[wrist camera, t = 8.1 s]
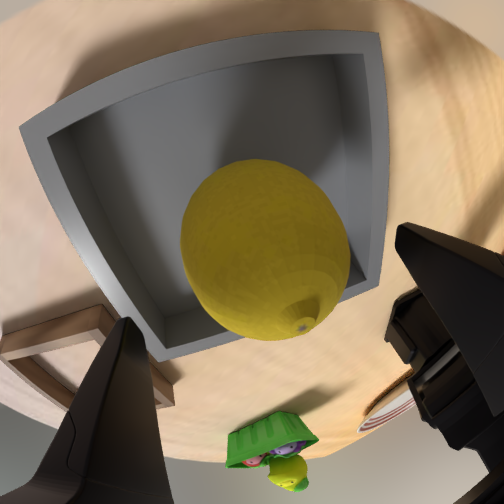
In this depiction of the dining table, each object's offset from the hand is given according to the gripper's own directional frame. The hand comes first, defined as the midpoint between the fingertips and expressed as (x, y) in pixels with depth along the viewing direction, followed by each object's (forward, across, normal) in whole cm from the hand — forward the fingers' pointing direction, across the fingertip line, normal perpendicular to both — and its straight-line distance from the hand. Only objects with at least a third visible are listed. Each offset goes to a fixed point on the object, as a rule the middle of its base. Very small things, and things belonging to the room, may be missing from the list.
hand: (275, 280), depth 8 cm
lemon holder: (+7, +15, +10) cm, 19 cm away
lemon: (+6, 0, 0) cm, 6 cm away
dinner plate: (+7, -25, +50) cm, 57 cm away
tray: (+7, 0, 0) cm, 7 cm away
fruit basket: (+7, +4, +34) cm, 35 cm away
